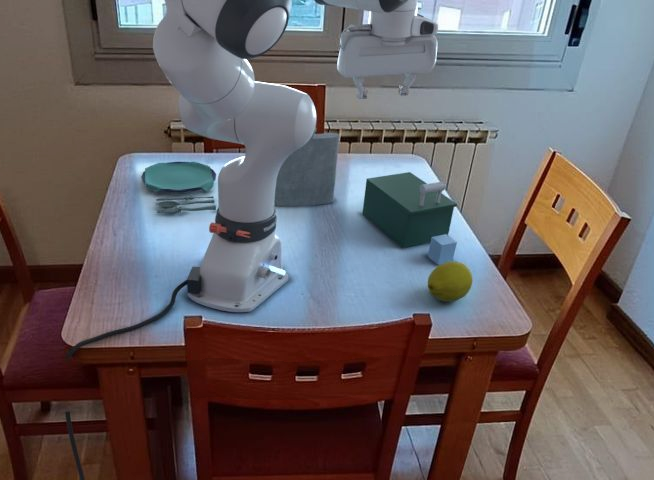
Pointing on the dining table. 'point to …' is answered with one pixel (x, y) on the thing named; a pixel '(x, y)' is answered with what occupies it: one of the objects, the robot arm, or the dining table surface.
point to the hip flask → (309, 173)
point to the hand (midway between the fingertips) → (382, 96)
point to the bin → (404, 220)
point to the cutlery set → (179, 183)
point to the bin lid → (412, 192)
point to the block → (442, 249)
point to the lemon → (450, 281)
